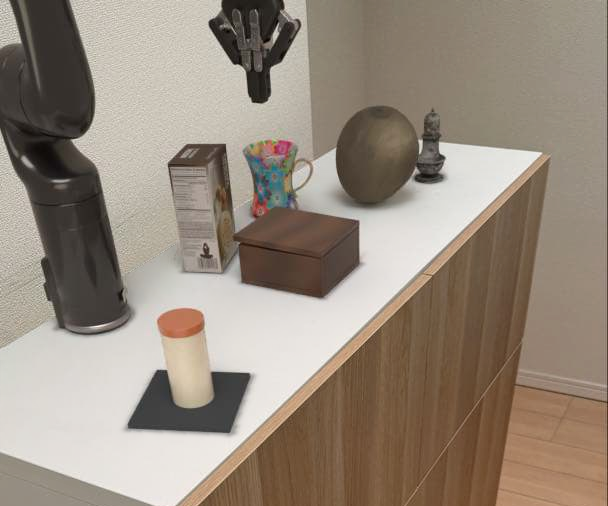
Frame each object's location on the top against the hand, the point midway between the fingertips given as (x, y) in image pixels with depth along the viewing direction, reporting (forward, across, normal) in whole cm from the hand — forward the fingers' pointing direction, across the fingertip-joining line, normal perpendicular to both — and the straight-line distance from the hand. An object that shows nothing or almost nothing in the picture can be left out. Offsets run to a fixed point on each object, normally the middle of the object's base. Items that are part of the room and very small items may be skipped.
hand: (260, 101), depth 103 cm
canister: (+22, -10, +36) cm, 44 cm away
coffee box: (+23, +10, +1) cm, 26 cm away
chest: (+23, -5, 0) cm, 24 cm away
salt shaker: (+23, -8, -46) cm, 52 cm away
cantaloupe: (+23, -3, -31) cm, 39 cm away
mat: (+23, -10, +36) cm, 44 cm away
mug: (+23, +10, -20) cm, 32 cm away
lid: (+17, -5, 0) cm, 18 cm away
